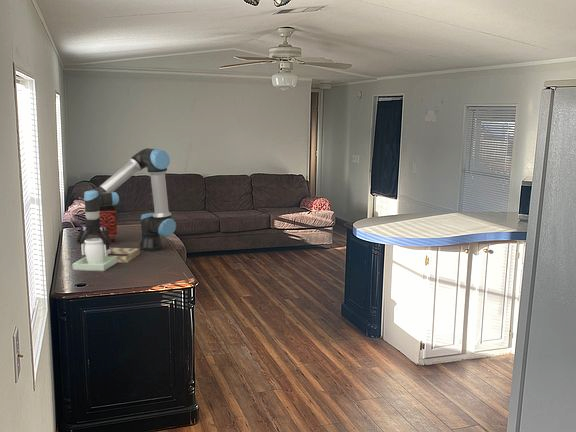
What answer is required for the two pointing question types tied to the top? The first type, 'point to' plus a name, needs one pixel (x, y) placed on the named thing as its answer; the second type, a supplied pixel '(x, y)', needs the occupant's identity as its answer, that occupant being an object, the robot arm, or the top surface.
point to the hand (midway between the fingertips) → (95, 255)
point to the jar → (94, 250)
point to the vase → (108, 221)
